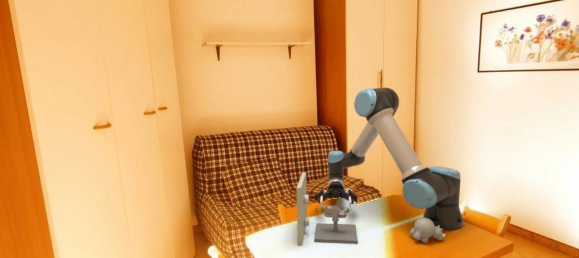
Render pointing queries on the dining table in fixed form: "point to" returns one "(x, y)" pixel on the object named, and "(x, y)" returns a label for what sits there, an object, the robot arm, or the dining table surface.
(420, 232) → the chubby cartoon animal
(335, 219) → the mechanical component
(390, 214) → the dining table surface
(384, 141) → the robot arm
